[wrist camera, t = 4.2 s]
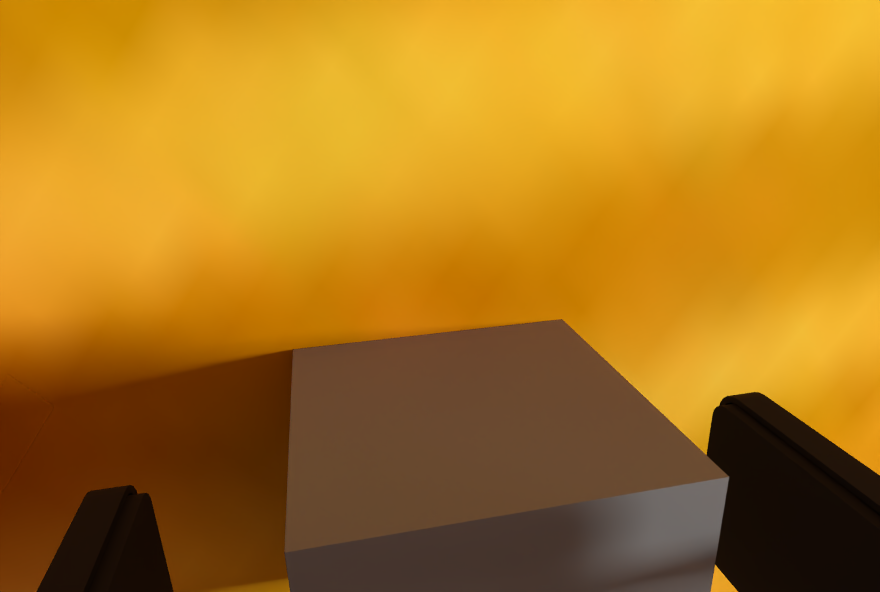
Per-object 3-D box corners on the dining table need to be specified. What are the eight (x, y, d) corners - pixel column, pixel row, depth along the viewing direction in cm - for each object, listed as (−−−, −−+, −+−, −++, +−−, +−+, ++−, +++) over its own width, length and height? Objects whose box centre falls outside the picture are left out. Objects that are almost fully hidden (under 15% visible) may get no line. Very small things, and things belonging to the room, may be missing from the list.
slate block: (560, 317, 12) (728, 476, 7) (551, 528, 13) (682, 767, 9) (292, 347, 11) (284, 552, 6) (320, 569, 12) (329, 859, 8)
